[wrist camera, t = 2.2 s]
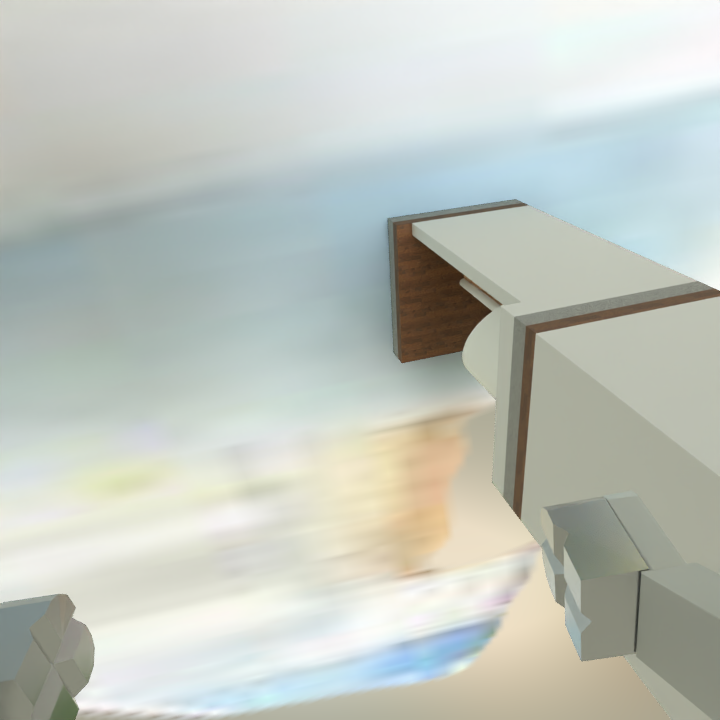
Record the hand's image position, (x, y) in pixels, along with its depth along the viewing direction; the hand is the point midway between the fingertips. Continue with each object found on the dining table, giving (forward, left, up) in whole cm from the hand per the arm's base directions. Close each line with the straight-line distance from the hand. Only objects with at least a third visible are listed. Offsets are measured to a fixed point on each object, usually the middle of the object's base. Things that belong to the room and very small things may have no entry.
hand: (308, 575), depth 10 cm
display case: (+20, +8, -36) cm, 42 cm away
